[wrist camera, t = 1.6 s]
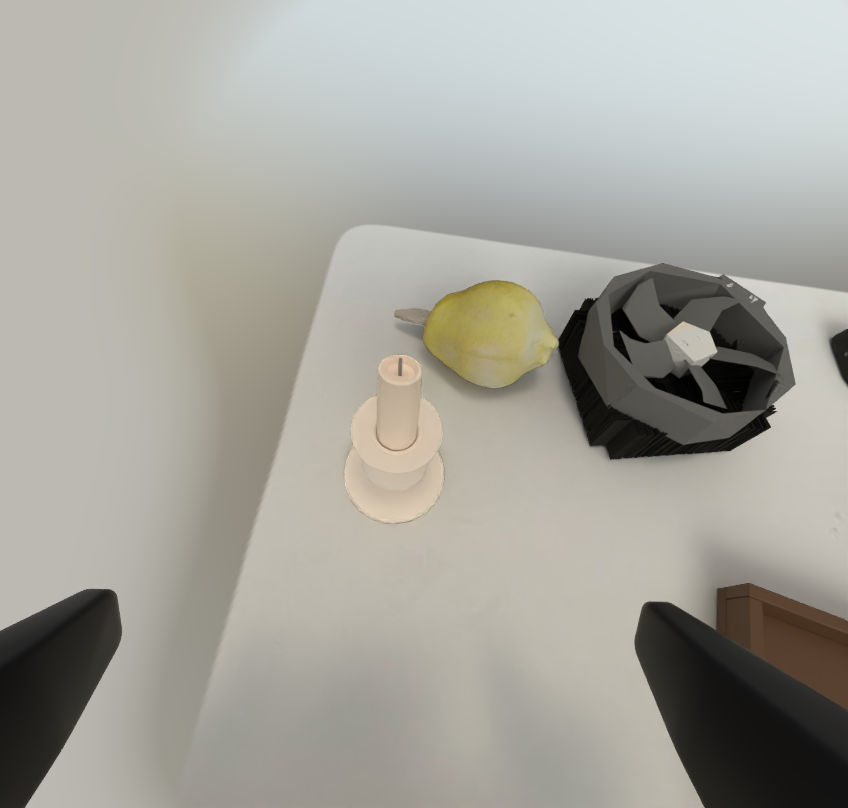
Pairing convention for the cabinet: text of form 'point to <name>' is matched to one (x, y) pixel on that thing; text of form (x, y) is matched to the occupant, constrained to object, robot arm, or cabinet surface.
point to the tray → (788, 637)
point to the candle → (395, 447)
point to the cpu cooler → (674, 363)
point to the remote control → (842, 350)
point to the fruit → (487, 332)
